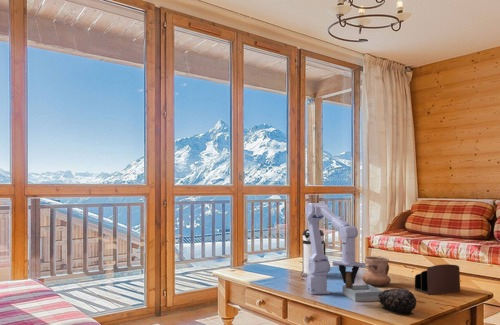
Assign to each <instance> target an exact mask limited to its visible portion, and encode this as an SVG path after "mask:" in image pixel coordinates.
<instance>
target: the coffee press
mask: <svg viewBox="0 0 500 325" xmlns="http://www.w3.org/2000/svg"><path fill="white" fill-rule="evenodd" d="M319 230H320V236H321V242H322V249H323V254H324V255H326V242H325V239H324V238H325V233H324V231H323V230H322V229H320V228H319ZM301 234H302V271H301V274H300V276H301V277H304V276H305V275H307V276H308V275H311V273H310V271H309V268H308V265H309V258H310V257H311V256H312V255H313V254H312V248H311V241H310V234H309V228H307V229H304V230H303V231H302V233H301ZM316 261H321V260H316ZM302 274H303V275H302Z"/></svg>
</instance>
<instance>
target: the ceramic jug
mask: <svg viewBox="0 0 500 325" xmlns="http://www.w3.org/2000/svg"><path fill="white" fill-rule="evenodd" d="M364 263H366V268H367V272H366V273H364V274H363V275H362V277H361V278H362V281H363V282H364V283H365V284H366V285H371V286H373V287H383V286H387V285H389V284H390V283H391V282H392V280H391V277H390V276H389V275H388V274H389V270H390V264H389V258H387V257H385V256H384V257H383V256H375V255H374V256H371V255H370V256H365V257H364Z"/></svg>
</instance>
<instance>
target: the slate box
mask: <svg viewBox="0 0 500 325" xmlns="http://www.w3.org/2000/svg"><path fill="white" fill-rule="evenodd" d="M383 291H384V290H382V289H379V288H377V287H376V286H373V285H369V284H355V285H354V284H353V288H352V289H348V288H345V285H342V295H344V296H345V297H347V298H348V299H350V300H352V301H353V302H355V303H356V302H357V303H358V302H373V301H374V302H376V301H380V299H379V297H378V294H380V293H383Z"/></svg>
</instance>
